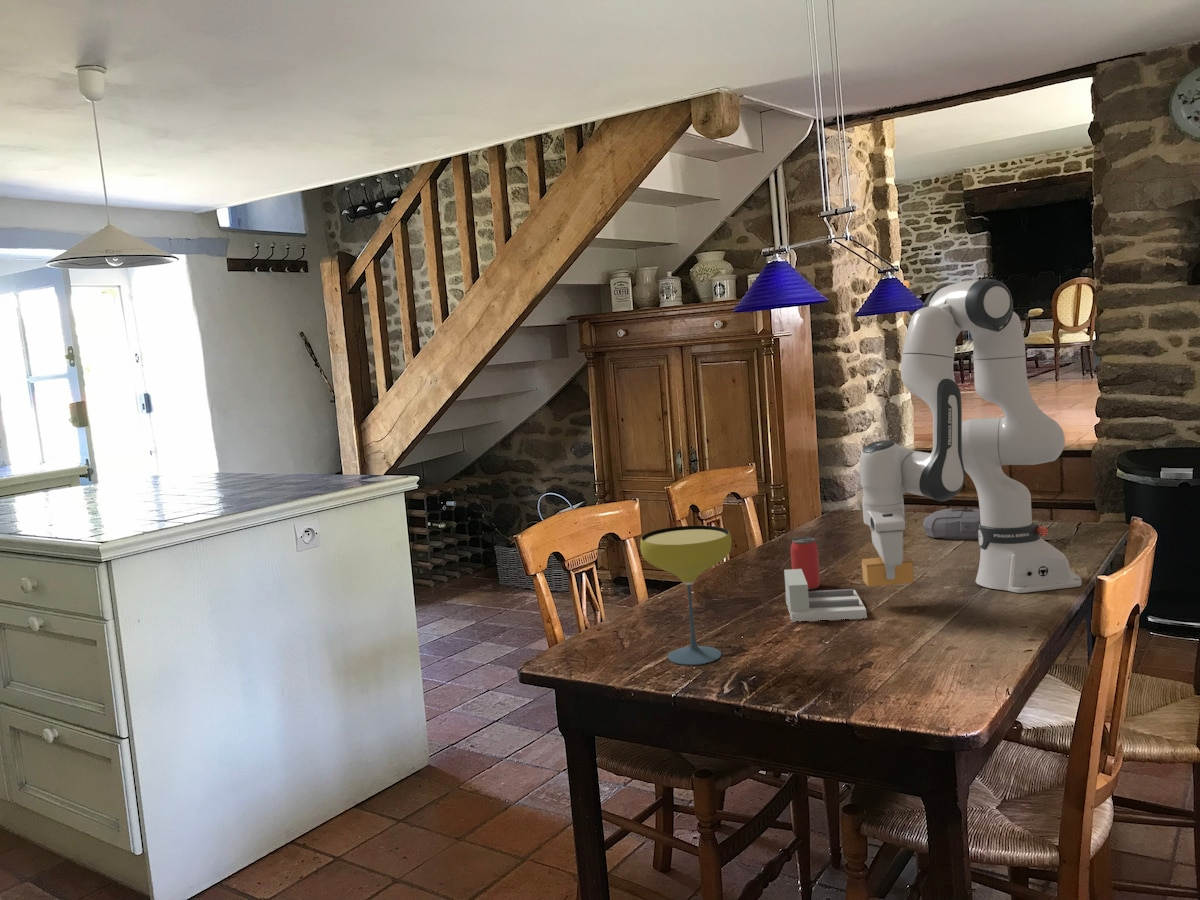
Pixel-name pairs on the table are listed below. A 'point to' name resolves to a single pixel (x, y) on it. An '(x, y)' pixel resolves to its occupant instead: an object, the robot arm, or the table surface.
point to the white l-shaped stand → (820, 601)
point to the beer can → (806, 560)
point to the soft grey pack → (953, 524)
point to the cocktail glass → (687, 570)
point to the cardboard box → (877, 576)
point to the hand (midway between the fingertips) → (888, 574)
